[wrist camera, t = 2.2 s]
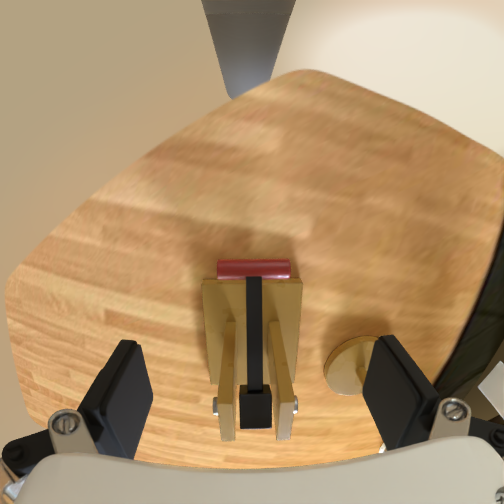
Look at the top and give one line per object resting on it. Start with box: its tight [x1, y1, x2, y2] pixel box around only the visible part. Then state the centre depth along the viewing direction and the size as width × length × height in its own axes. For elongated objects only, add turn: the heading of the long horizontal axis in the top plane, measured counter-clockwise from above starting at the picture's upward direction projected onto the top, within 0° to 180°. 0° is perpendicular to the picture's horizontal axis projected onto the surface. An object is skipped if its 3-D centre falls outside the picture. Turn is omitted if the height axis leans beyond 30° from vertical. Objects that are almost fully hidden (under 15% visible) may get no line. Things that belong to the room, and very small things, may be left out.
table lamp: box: [324, 336, 378, 395], centre depth 19 cm, size 10×10×25 cm
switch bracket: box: [201, 278, 303, 441], centre depth 23 cm, size 12×9×12 cm
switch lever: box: [217, 259, 291, 429], centre depth 20 cm, size 12×5×2 cm, turn 0°
